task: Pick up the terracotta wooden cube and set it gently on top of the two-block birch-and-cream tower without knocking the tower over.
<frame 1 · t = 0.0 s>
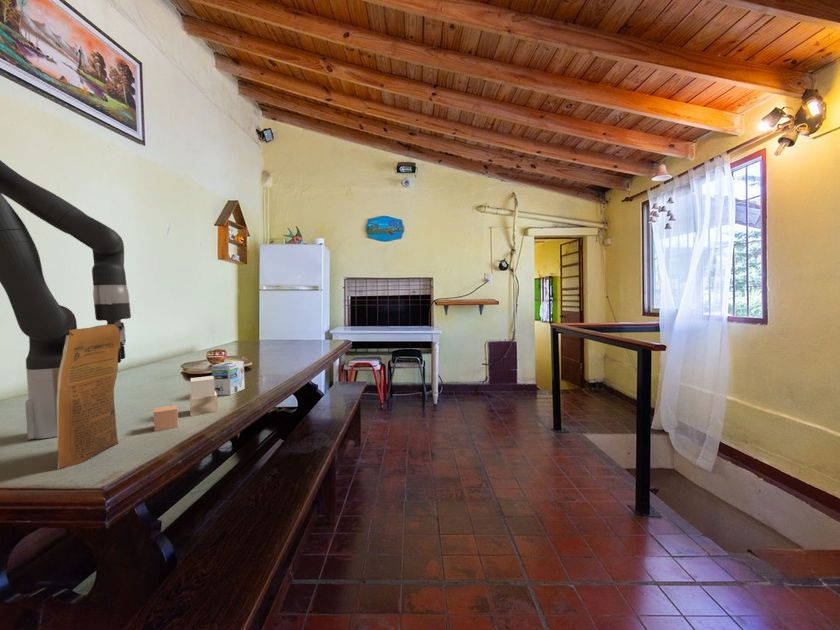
hand: (118, 361, 103), 17 cm above the table, tool pointing down, fingers open, 8 cm apart
tower base block: (204, 411, 114), on the table, touching tower top block
terracotta block: (166, 427, 100), on the table
pancake mix bag: (94, 453, 83), on the table
tower top block: (203, 395, 113), point 5 cm above the table, touching tower base block
light bulb box: (229, 392, 138), on the table
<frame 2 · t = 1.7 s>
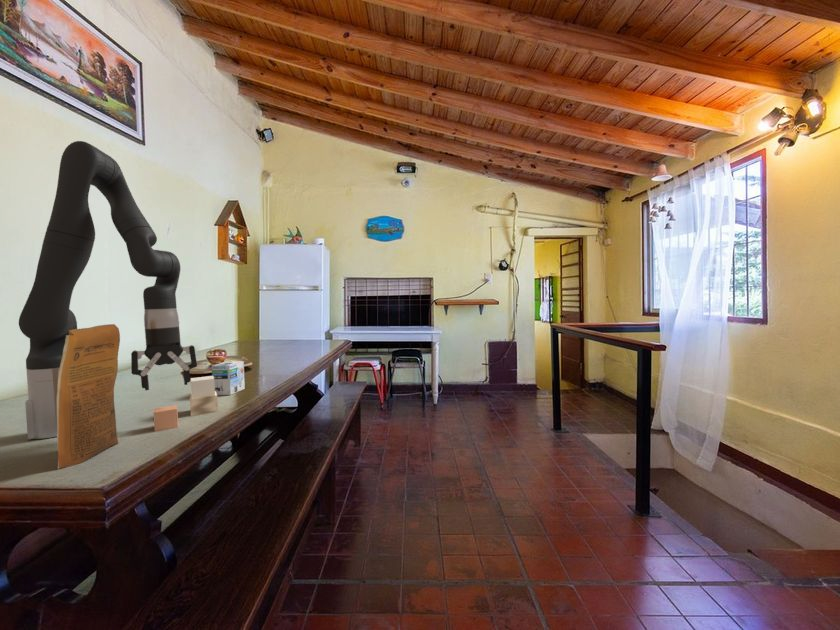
hand: (167, 387, 100), 10 cm above the table, tool pointing down, fingers open, 8 cm apart
nothing on the table moved.
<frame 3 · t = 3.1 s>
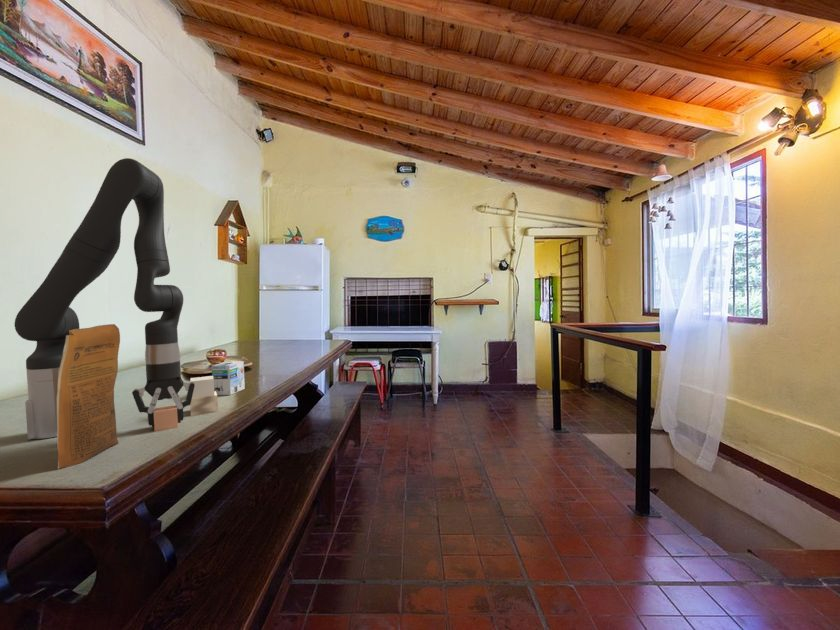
hand: (166, 424, 100), 1 cm above the table, tool pointing down, fingers closed on terracotta block, 5 cm apart
tower base block: (204, 411, 114), on the table
terracotta block: (166, 426, 100), on the table, touching gripper
tower top block: (202, 394, 113), point 5 cm above the table
everything else where it was.
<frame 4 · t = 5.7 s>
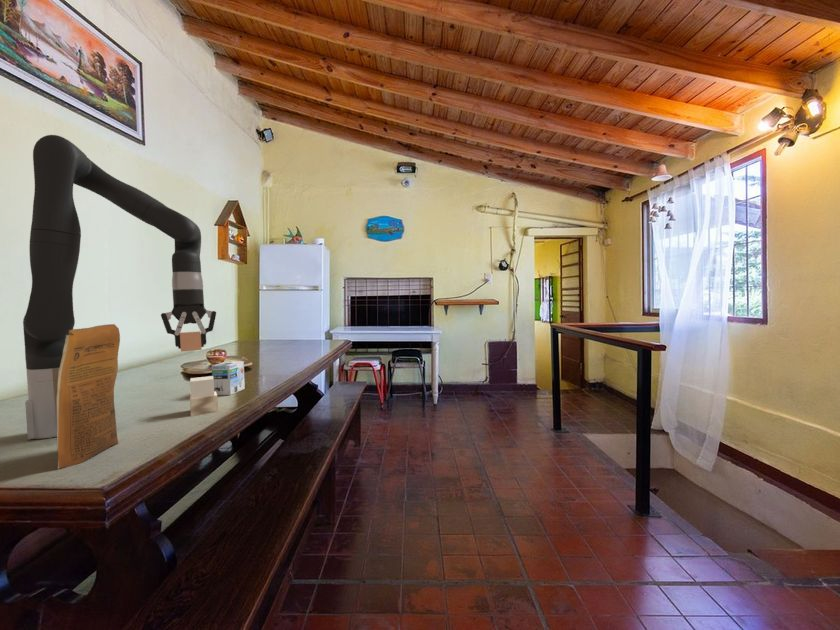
hand: (191, 347, 109), 20 cm above the table, tool pointing down, fingers closed on terracotta block, 5 cm apart
tower base block: (204, 411, 114), on the table, touching tower top block
terracotta block: (191, 349, 108), point 19 cm above the table, touching gripper
tower top block: (202, 395, 113), point 5 cm above the table, touching tower base block
everything else where it was.
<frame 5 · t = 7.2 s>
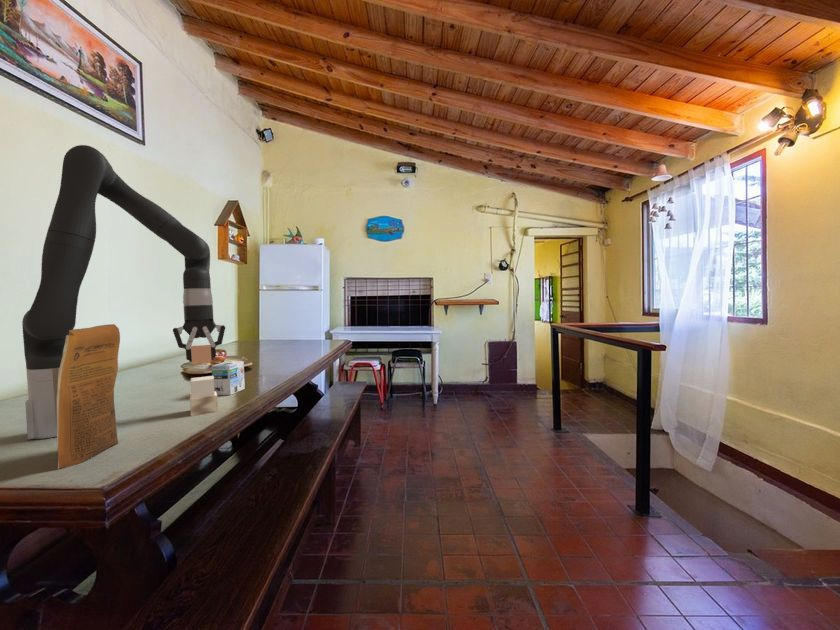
hand: (201, 360, 113), 15 cm above the table, tool pointing down, fingers closed on terracotta block, 5 cm apart
terracotta block: (201, 362, 113), point 15 cm above the table, touching gripper
everything else where it was.
when the fingers open (12 cm above the table, at t = 8.3 s): terracotta block drops 1 cm, resting on tower top block.
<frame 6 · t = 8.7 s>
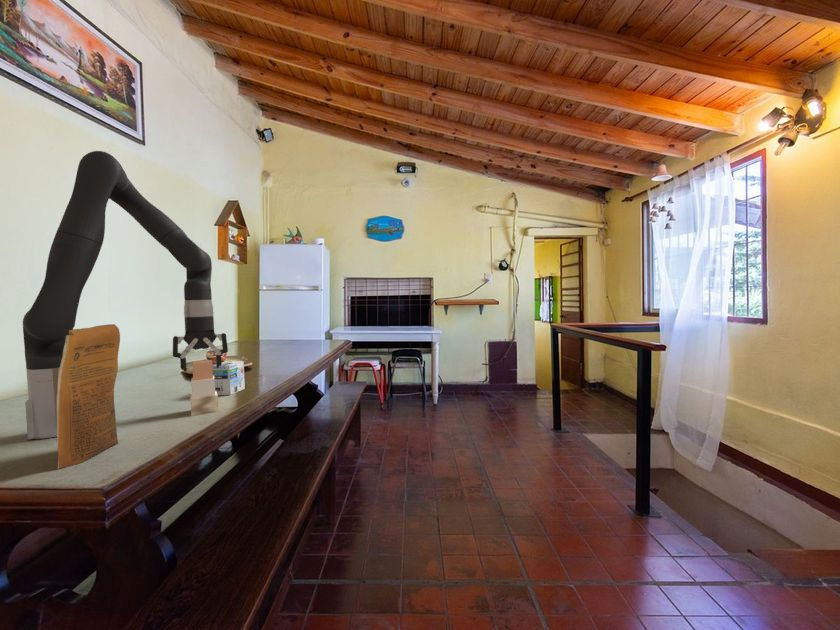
hand: (201, 369, 113), 13 cm above the table, tool pointing down, fingers open, 8 cm apart
terracotta block: (203, 378, 113), point 10 cm above the table, touching tower top block
tower top block: (203, 394, 113), point 5 cm above the table, touching terracotta block, tower base block
everything else where it was.
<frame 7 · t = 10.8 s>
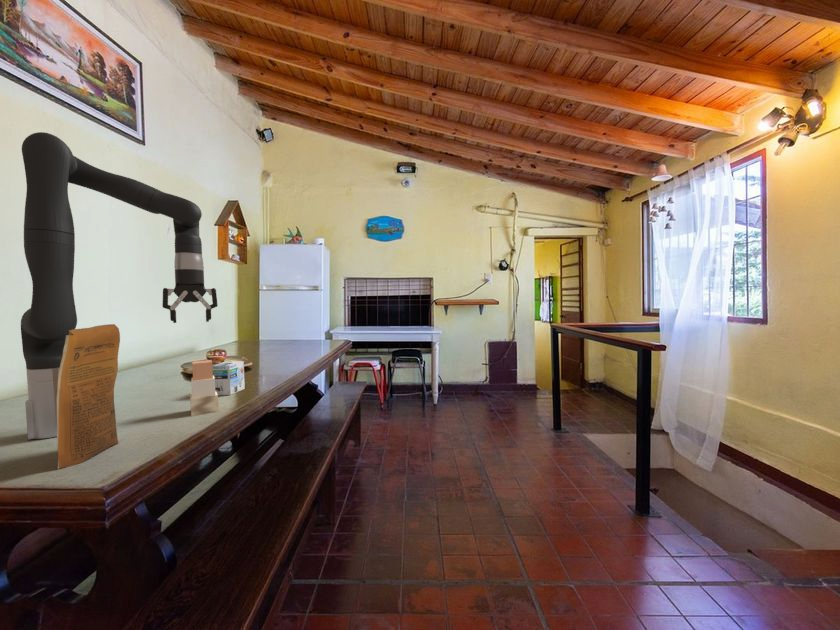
hand: (191, 322, 115), 27 cm above the table, tool pointing down, fingers open, 8 cm apart
nothing on the table moved.
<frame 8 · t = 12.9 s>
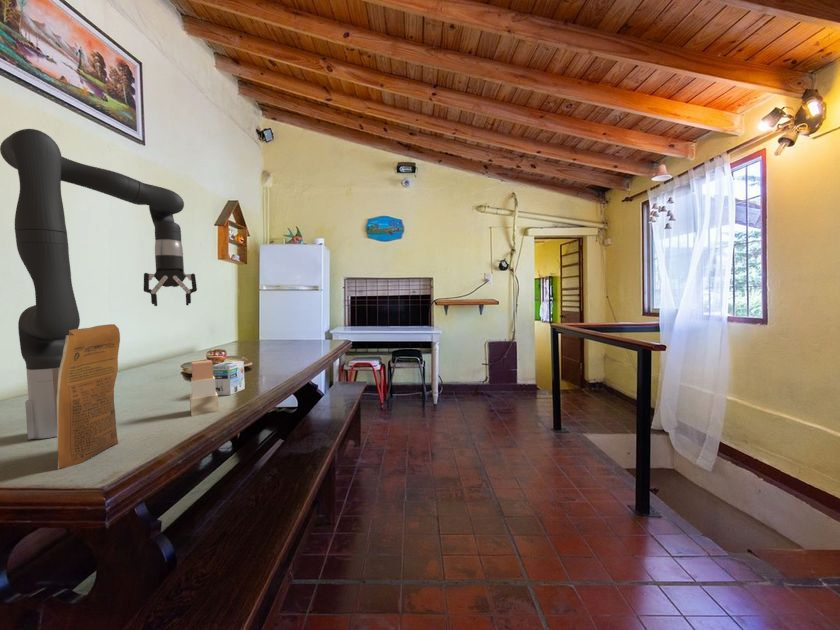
hand: (172, 305, 121), 32 cm above the table, tool pointing down, fingers open, 8 cm apart
nothing on the table moved.
at the end: terracotta block 0.1 cm off-centre on the tower top block, point 5.0 cm above the tower top block's base; tower top block tilted 0°; tower base block moved 0.2 cm from its start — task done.
